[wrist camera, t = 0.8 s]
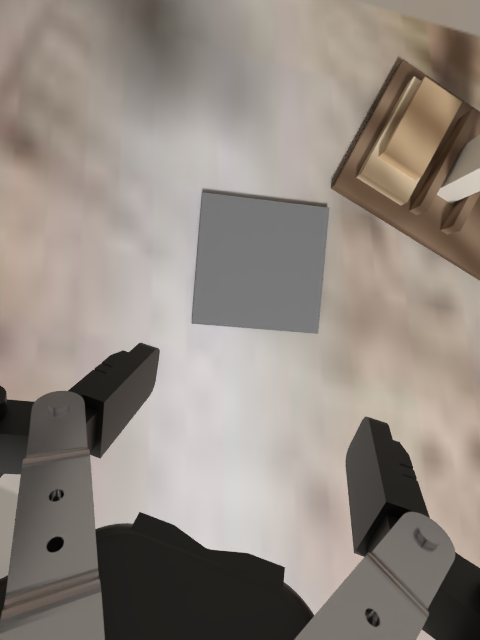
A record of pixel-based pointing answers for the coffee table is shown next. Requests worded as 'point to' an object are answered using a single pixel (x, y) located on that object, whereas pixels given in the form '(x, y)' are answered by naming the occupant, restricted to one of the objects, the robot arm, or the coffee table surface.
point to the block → (463, 173)
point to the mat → (259, 264)
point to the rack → (417, 166)
